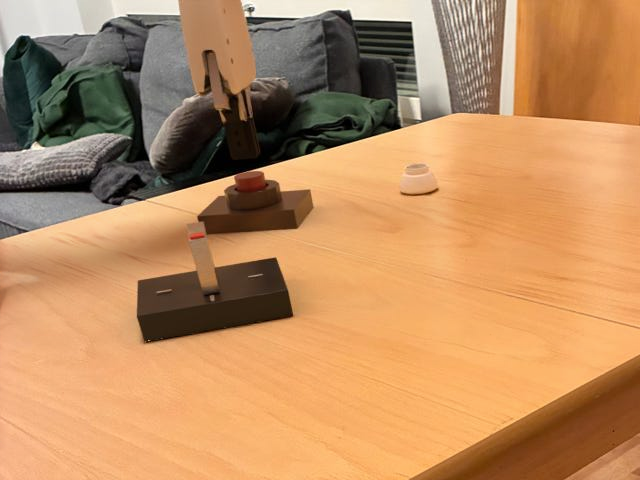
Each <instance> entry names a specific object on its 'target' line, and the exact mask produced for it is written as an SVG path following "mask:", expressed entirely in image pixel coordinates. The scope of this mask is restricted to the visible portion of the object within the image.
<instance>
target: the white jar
mask: <svg viewBox="0 0 640 480" xmlns="http://www.w3.org/2000/svg"><path fill="white" fill-rule="evenodd" d="M429 168H430V166H429V164H428V163H424V162H423V163H421V162H420V163H412V164H408V165H406V166H404V172H403V173H402V175H401V179H400V180H399V181H400V182H399V185H398V190H399V191H400V192H402V193H403V194H406V195H413V196H414V195H415V196H417V195H423V194H428V193H431V192H433V191H435V190H436V189H438V187H439V186H440V185H439V181H438V179H437V177H436V176H435V174H434V172H433V171H432V170H431V169H429Z"/></svg>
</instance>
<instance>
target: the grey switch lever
mask: <svg viewBox="0 0 640 480" xmlns="http://www.w3.org/2000/svg"><path fill="white" fill-rule="evenodd" d="M186 227H187V235H188V237H187V238H188V243H189V246H190V250H191V255H192V258H193V261H194V265H195V266H194V267H195V269H196V270H195V271H197V273H198V277H199V281H200V285H201V289H202V292H203V295H207V294H213V293H219V292H220V289H219V283H218V278H217V273H216V269H215V267H216V266H215V262H214V258H213V254H212V250H211V245H210V242H209V237H208V235H207V233H206V229H205V225H204V222H198V221H197V222H192V223H191V222H190V223H186Z"/></svg>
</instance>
